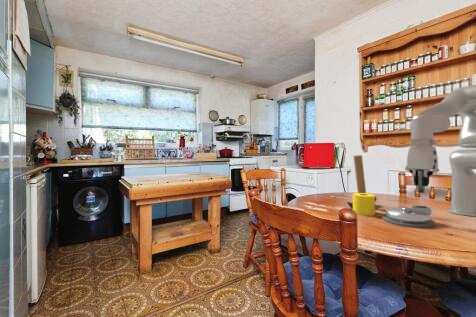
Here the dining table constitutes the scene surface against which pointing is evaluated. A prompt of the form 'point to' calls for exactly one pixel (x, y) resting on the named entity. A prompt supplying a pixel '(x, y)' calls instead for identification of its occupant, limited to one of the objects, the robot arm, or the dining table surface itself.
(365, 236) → the dining table surface
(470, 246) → the dining table surface
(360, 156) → the hammer
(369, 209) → the tape roll
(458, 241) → the dining table surface
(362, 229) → the dining table surface
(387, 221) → the base
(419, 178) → the steel pin
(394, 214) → the grey pot lid
